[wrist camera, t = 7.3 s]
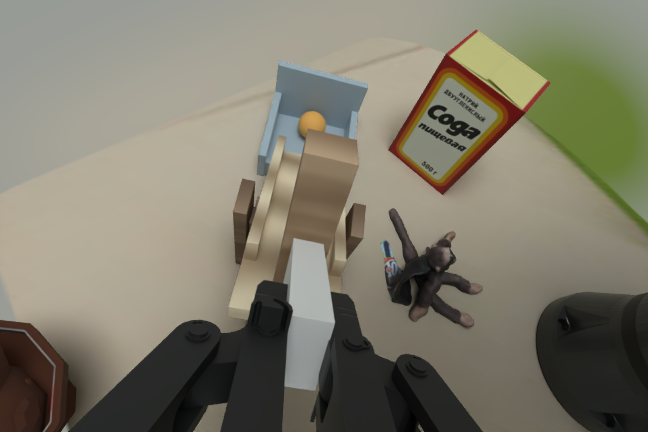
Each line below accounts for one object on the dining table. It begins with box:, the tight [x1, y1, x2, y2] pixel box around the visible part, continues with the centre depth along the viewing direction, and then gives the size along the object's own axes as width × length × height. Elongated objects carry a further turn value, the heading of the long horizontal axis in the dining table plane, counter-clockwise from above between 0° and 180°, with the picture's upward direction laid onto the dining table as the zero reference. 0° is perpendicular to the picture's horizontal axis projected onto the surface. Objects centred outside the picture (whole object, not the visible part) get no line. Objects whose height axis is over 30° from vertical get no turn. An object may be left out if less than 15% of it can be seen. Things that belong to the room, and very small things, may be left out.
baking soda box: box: [389, 30, 550, 195], centre depth 42 cm, size 10×6×16 cm
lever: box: [227, 128, 359, 320], centre depth 26 cm, size 20×7×12 cm, turn 172°
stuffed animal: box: [381, 208, 482, 327], centre depth 41 cm, size 12×10×12 cm
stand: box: [233, 179, 366, 322], centre depth 32 cm, size 11×10×12 cm
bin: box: [257, 61, 368, 176], centre depth 42 cm, size 11×11×8 cm
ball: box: [298, 111, 326, 138], centre depth 44 cm, size 4×4×4 cm
